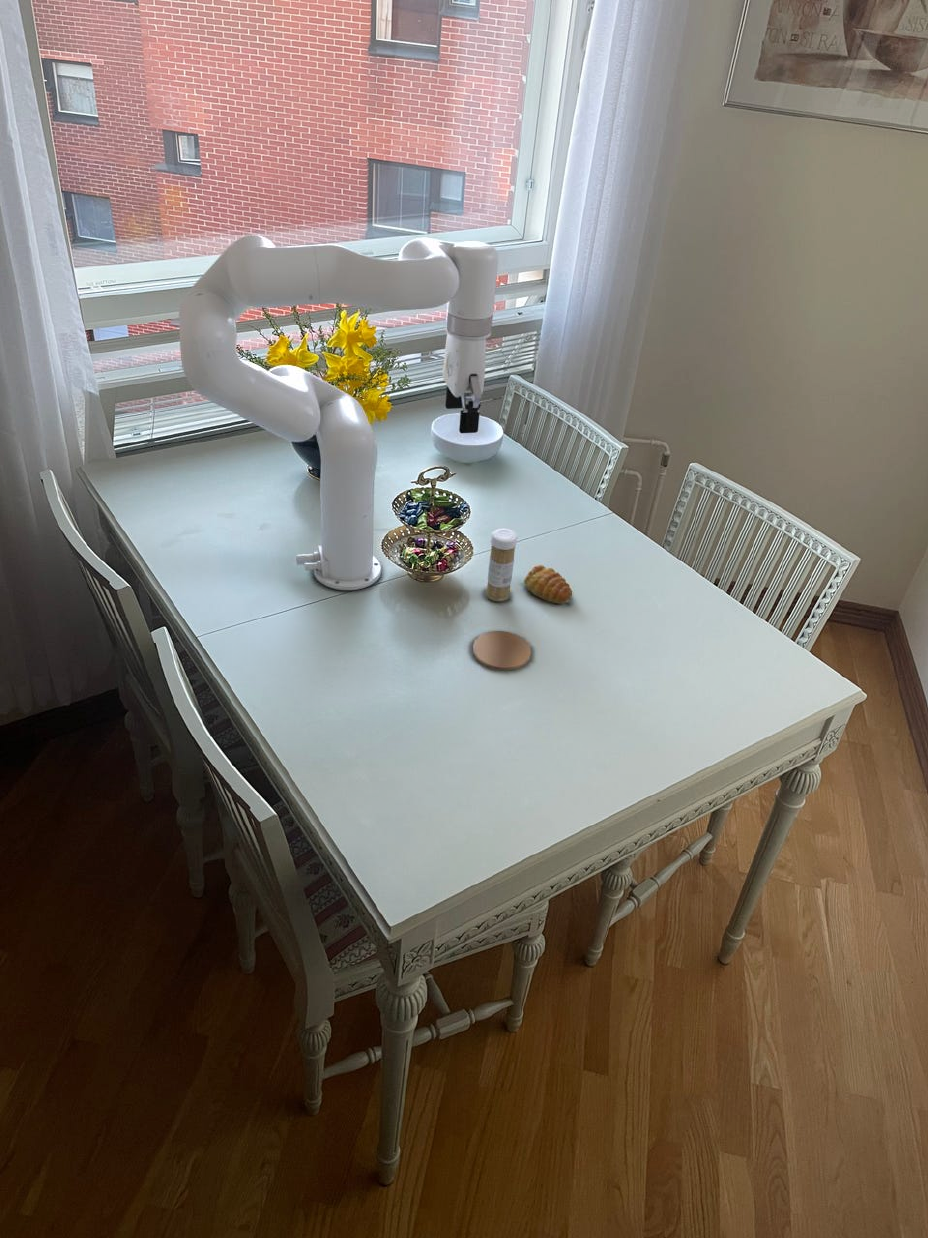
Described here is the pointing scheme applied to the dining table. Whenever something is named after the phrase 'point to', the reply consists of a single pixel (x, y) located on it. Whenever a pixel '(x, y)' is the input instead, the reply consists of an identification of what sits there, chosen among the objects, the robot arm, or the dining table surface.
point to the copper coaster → (501, 650)
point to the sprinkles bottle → (501, 564)
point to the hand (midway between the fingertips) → (461, 419)
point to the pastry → (548, 585)
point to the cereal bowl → (466, 439)
